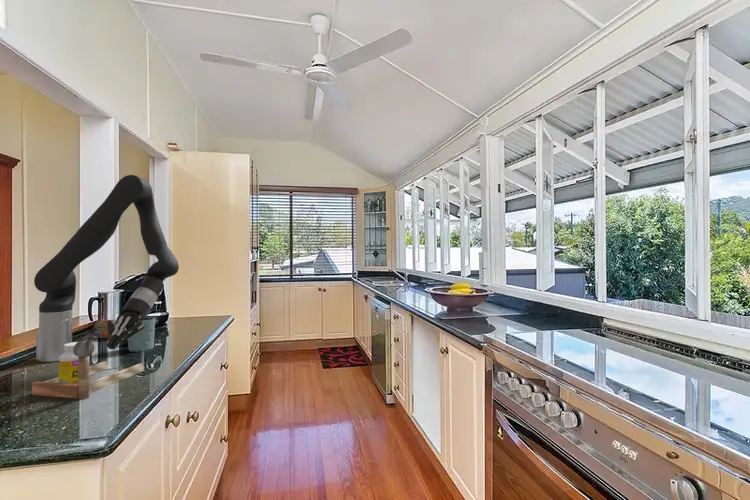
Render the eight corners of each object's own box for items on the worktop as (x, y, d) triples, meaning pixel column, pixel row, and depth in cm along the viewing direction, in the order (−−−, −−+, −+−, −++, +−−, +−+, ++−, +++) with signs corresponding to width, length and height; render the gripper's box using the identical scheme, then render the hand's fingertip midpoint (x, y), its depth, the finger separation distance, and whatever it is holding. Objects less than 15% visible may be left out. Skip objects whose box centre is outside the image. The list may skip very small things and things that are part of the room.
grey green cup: (156, 349, 152) (156, 319, 152) (125, 353, 147) (126, 321, 147) (153, 344, 161) (154, 315, 161) (125, 347, 155) (125, 318, 155)
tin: (91, 339, 170) (92, 320, 170) (97, 337, 173) (97, 318, 173) (126, 339, 170) (126, 320, 170) (130, 337, 173) (131, 319, 173)
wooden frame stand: (105, 368, 128) (106, 318, 128) (156, 371, 125) (156, 320, 125) (26, 396, 103) (27, 334, 103) (87, 401, 100) (88, 337, 100)
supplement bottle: (70, 394, 104) (70, 347, 105) (52, 392, 106) (52, 345, 106) (94, 386, 111) (94, 341, 111) (76, 384, 113) (77, 340, 113)
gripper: (117, 296, 132) (84, 340, 120) (152, 297, 130) (122, 342, 118) (129, 309, 137) (98, 353, 125) (162, 311, 135) (135, 355, 123)
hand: (110, 347), depth 121 cm, fingers closed
